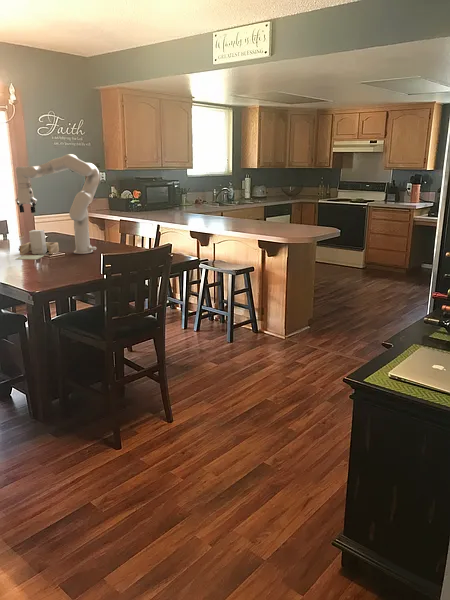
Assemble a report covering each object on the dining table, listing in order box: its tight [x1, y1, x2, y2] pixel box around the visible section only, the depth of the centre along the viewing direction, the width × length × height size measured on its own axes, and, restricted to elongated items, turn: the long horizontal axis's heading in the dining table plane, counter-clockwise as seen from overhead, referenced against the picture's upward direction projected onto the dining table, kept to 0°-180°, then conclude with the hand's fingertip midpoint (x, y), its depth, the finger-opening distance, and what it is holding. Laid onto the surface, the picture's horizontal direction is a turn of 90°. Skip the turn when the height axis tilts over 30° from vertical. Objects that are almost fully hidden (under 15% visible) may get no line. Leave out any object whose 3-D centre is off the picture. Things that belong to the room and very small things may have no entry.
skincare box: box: [28, 229, 48, 255], centre depth 334 cm, size 8×7×16 cm
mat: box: [15, 254, 45, 261], centre depth 322 cm, size 14×12×1 cm
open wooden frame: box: [18, 241, 60, 256], centre depth 336 cm, size 21×14×6 cm, turn 88°
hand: (27, 212), depth 330 cm, fingers open, 9 cm apart
